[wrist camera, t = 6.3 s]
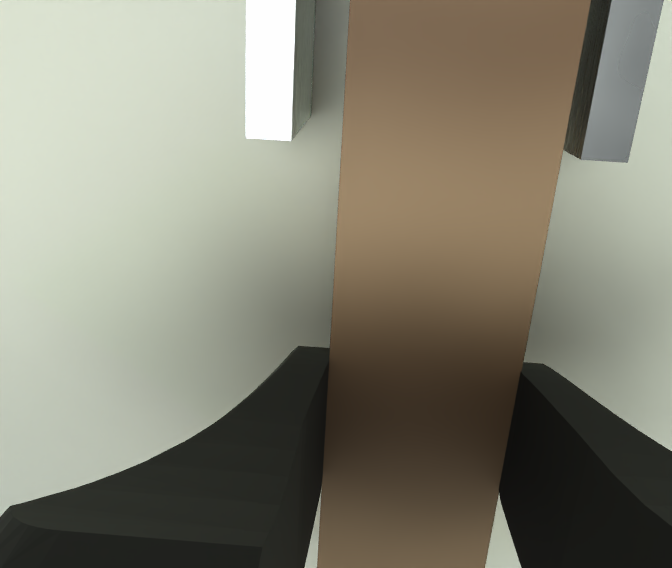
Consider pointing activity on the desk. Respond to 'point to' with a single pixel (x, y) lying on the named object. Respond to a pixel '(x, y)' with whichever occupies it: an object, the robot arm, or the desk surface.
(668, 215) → the desk surface
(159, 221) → the desk surface
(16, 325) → the desk surface
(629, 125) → the bracket
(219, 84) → the desk surface
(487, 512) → the walnut rail
